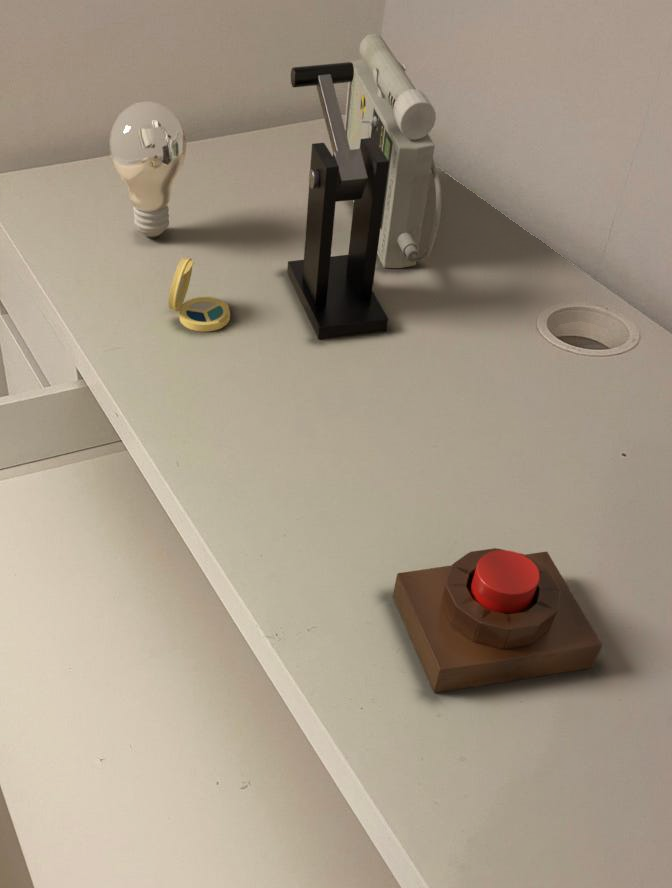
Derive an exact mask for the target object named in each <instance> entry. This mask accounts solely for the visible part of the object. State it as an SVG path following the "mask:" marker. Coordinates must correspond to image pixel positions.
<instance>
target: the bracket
mask: <svg viewBox="0 0 672 888" xmlns="http://www.w3.org/2000/svg"><path fill="white" fill-rule="evenodd" d="M360 149H361V153H362V156H363V160H364V164H365V168H366V172H367V176H368V179H367V183H366V186H365V189H364V192H363V195H362V198H361V199H357V200H354V202H353V208H352V218H351V226H350V234H349V246H348V252H347V253H348V254H342V255H332V247H333V235H334V225H335V212H336V193H337V183H338V172H339V166H338V164H337V163H336V161H335V160H334V158H333V154H332V153H331V152H330V150H329V149H328V147H327V145H326V144H325V142H316V143H315V142H314V143H312V144H311V154H310V155H311V156H310V166H309V167H310V169H309V174H308V182H309V183H308V196H307V208H306V209H307V210H306V221H305V222H306V225H305V240H304V251H303V252H304V253H303V259H297V260H296V259H295V260H289V261H287V271H286V274H287V276H288V278H289V280H290V283H291V285H292V286H293V289H294V291H295V294H297V297H298V299H299V301H300V304H301V306H302V308H303V310H304V312H305V314H306V316H307V318H308V320H309V322H310V325H311V327H312V329H313V331H314V333H315V335H316V338H317V340H325V339H334V338H342V337H350V336H358V335H366V334H375V333H376V334H377V333H383V332H387V331H388V326H389V317H388V315H387V314H386V312H385V309H384V308H383V306H382V305H381V302H380V301H379V300H378V298H377V296H376V294H375V293H374V291H373V290H374V289H373V288H374V281H375V275H376V274H375V273H376V265H377V259H378V254H377V251H378V243H379V236H380V228H381V221H382V213H383V205H384V198H385V190H386V182H387V175H388V167H389V160H388V159H387V158H386V156H385V155H384V153H383V152H382V150H381V149H380V148H379V146H378V145H377V143H376V142H375V141H374V139H373V138H365V139H361V141H360Z"/></svg>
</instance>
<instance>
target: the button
mask: <svg viewBox="0 0 672 888" xmlns="http://www.w3.org/2000/svg"><path fill="white" fill-rule="evenodd" d="M519 553H520V552H516V551H512V550H507V549H503V550H498V551H493V552H489V553H487V554H485V555H484V556H483V557H481V559H480V560H479V561H478V563H477V566H476V570H475V573H474V577H473V580H472V584H471V591H472V595H473V597H474V598H475V600H476V601H477V602H478V603H479V604H481V605H482V606H484V607H485V608H486V609H488V610H491V611H495V612H499V613H504V614H513V613H517V612H520V611H522V610H524V609H526V608H527V607H528V606H529V605H530V603H531V602H532V599H533V596H534V593H535V591H536V588H537V585H538V582H539V578H540V575H539V571H538V569H537V567H536V565H535V564H534V563H533V562H532V561H531V560H530V559H529V558H527V557H525V556H524V555H525V554H524V555H522V554H523V553H521V554H519Z"/></svg>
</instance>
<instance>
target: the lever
mask: <svg viewBox="0 0 672 888" xmlns="http://www.w3.org/2000/svg"><path fill="white" fill-rule="evenodd" d="M353 77H354V67H353V63H352V62H350V61H347V62H346V61H345V62H337V63H326V64H325V63H324V64H314V65H302V66H293V67H291V70H290V84H291V87H292V88H303V87H316V90H317V94H318V99H319V102H320V106H321V110H322V114H323V118H324V122H325V125H326V130H327V134H328V138H329V141H330V145H331V146H330V147H331V149H332V156H333V158H334V160H335V161H336V163H337V164H338V166H339V172H338V183H337V193H336V202H346V201H353V200H357V199H361V198H362V195H363V192H364V189H365V186H366V183H367V179H368V176H367V172H366V168H365V164H364V160H363V156H362V153H361V149H353V150H350V147H349V143H348V139H347V136H346V132H345V128H344V126H345V123H344V121H343V117H342V113H341V109H340V108H341V107H340V105H339V100H338V97H337V93H336V89H335V84H344V83H348V82H352V81H353Z"/></svg>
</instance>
